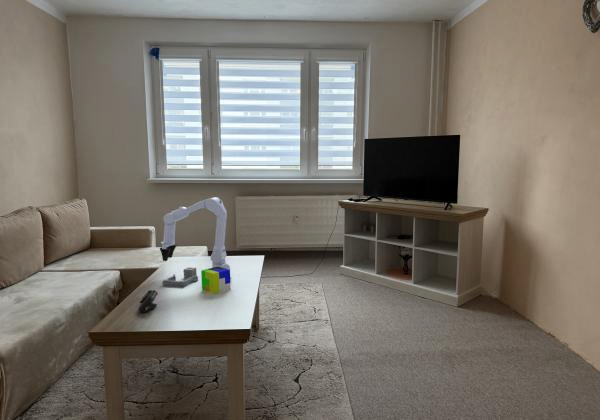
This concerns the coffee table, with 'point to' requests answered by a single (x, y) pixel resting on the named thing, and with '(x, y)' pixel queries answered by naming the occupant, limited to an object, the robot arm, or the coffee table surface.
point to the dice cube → (189, 272)
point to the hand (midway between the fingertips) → (167, 259)
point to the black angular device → (148, 301)
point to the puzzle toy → (215, 280)
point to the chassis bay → (173, 282)
